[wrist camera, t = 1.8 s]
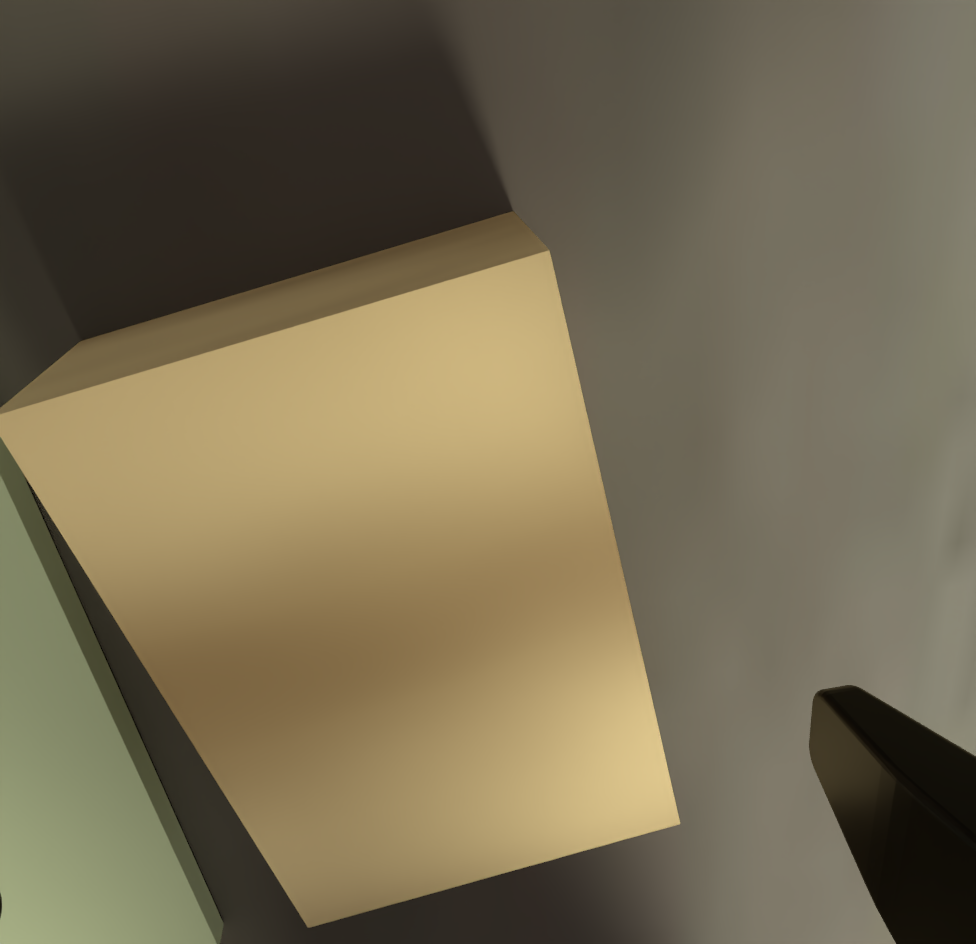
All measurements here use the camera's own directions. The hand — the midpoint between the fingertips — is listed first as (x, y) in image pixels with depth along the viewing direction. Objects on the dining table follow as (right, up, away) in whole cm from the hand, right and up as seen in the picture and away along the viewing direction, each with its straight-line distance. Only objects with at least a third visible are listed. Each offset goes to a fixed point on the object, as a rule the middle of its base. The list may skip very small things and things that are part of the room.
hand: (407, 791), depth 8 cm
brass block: (-1, +2, +4) cm, 5 cm away
